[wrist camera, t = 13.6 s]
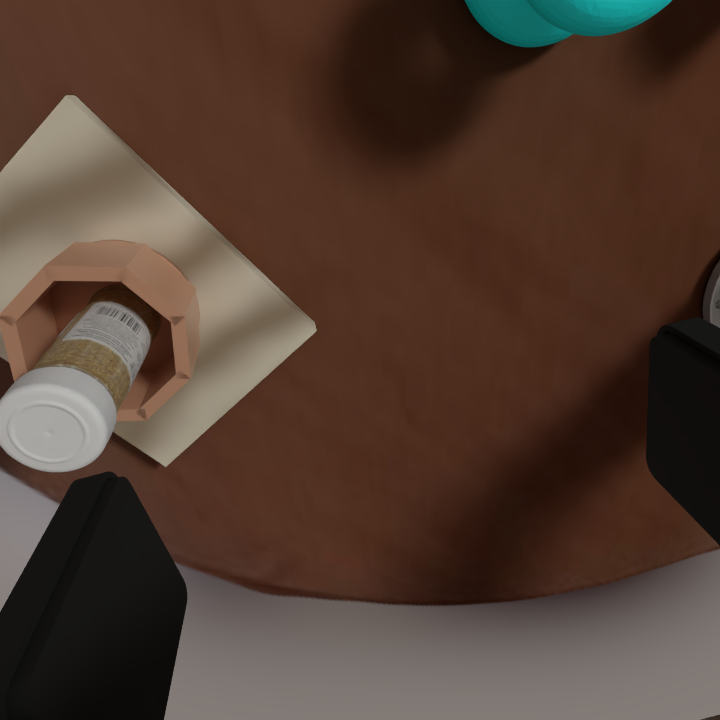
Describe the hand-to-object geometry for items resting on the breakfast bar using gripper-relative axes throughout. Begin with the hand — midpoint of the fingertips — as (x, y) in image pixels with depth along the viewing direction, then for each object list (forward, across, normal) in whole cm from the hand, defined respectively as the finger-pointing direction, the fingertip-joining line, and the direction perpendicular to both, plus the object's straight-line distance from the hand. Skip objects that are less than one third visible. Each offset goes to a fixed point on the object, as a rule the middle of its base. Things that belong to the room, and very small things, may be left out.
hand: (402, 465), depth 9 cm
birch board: (+28, +14, +4) cm, 32 cm away
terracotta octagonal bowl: (+27, +14, +4) cm, 31 cm away
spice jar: (+26, +14, +4) cm, 30 cm away
